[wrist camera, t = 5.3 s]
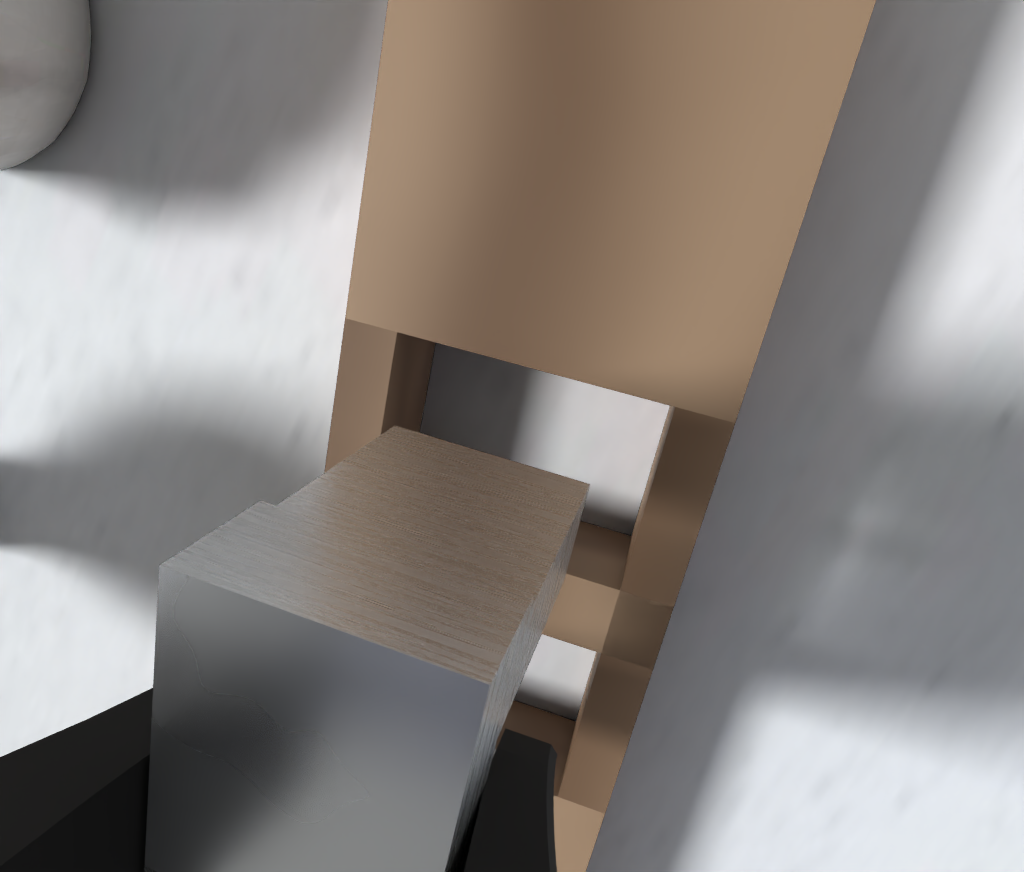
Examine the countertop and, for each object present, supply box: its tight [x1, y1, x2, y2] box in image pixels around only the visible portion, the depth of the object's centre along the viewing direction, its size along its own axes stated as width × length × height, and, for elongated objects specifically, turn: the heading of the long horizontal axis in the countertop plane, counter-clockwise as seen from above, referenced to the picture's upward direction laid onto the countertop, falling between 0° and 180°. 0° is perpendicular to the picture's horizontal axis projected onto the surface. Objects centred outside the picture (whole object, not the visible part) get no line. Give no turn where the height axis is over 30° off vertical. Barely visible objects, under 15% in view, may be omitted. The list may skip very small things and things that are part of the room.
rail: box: [324, 0, 876, 872], centre depth 15 cm, size 7×24×2 cm, turn 168°
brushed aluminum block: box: [144, 426, 590, 872], centre depth 10 cm, size 3×7×5 cm, turn 168°
